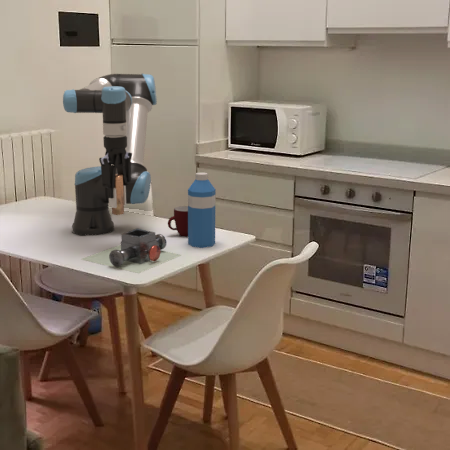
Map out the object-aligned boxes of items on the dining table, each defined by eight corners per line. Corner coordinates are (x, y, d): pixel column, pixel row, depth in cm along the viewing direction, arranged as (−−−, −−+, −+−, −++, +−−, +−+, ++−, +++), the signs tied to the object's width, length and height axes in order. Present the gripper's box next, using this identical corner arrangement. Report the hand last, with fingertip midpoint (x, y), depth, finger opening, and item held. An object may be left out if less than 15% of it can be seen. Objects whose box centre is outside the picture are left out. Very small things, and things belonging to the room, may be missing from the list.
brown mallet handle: (109, 213, 228) (107, 175, 225) (117, 211, 231) (116, 173, 228) (118, 215, 226) (117, 177, 222) (126, 213, 229) (125, 174, 226)
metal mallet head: (106, 265, 214) (105, 239, 212) (151, 248, 232) (150, 223, 229) (132, 271, 208) (132, 245, 206) (176, 253, 226) (176, 228, 224)
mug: (174, 240, 242) (174, 213, 239) (164, 235, 248) (163, 208, 246) (200, 236, 247) (200, 209, 244) (189, 231, 254) (189, 205, 251)
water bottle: (187, 241, 241) (187, 171, 235) (214, 240, 242) (214, 170, 236) (188, 249, 232) (188, 176, 226) (216, 248, 233) (216, 176, 227)
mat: (80, 260, 220) (80, 259, 220) (126, 243, 237) (126, 242, 237) (138, 274, 207) (138, 273, 207) (182, 256, 225) (182, 254, 225)
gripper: (105, 140, 213) (108, 213, 219) (141, 133, 226) (143, 202, 233) (87, 137, 217) (91, 209, 223) (123, 131, 230) (126, 199, 237)
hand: (117, 205), depth 228 cm, fingers closed on brown mallet handle, 4 cm apart
